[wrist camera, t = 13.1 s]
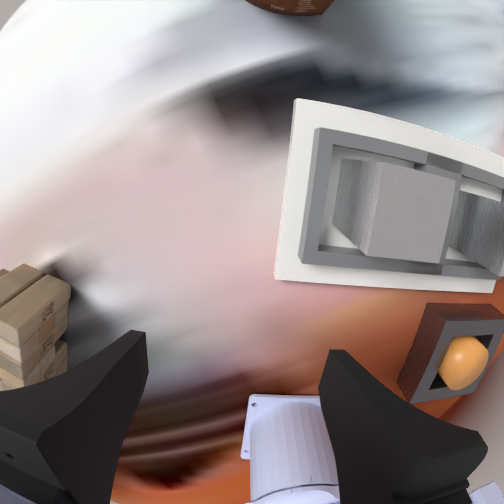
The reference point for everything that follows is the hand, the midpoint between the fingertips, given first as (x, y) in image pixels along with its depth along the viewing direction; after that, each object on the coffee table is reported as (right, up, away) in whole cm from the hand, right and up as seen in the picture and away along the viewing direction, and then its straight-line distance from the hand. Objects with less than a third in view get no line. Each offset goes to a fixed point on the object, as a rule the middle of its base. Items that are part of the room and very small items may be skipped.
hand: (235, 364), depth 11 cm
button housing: (+18, -4, +11) cm, 22 cm away
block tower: (-21, -10, +13) cm, 27 cm away
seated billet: (+17, +7, +7) cm, 19 cm away
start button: (+18, -4, +10) cm, 21 cm away
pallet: (+12, +7, +8) cm, 16 cm away
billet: (+8, +8, +6) cm, 13 cm away
